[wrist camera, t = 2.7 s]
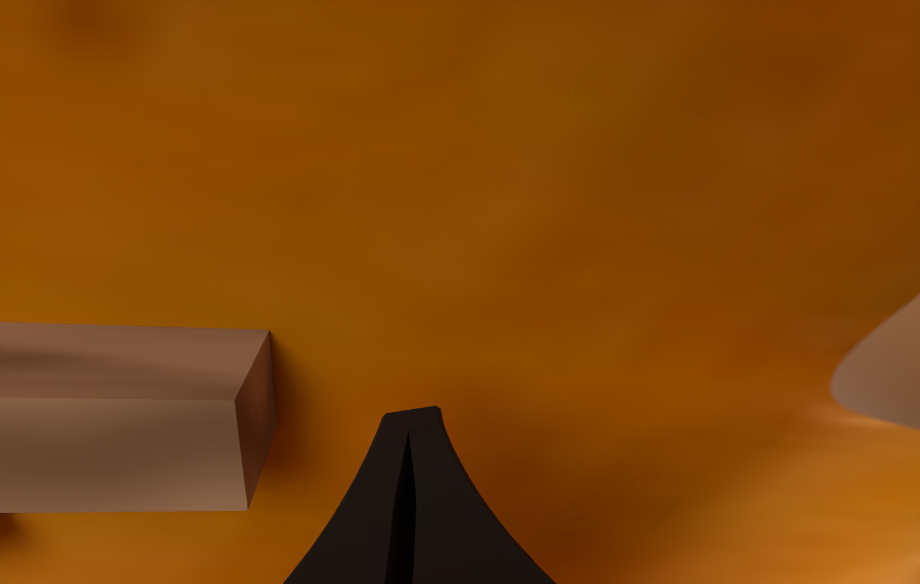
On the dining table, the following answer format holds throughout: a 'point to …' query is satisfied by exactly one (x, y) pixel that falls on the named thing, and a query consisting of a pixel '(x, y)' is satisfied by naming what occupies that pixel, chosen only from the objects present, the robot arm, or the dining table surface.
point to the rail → (133, 417)
